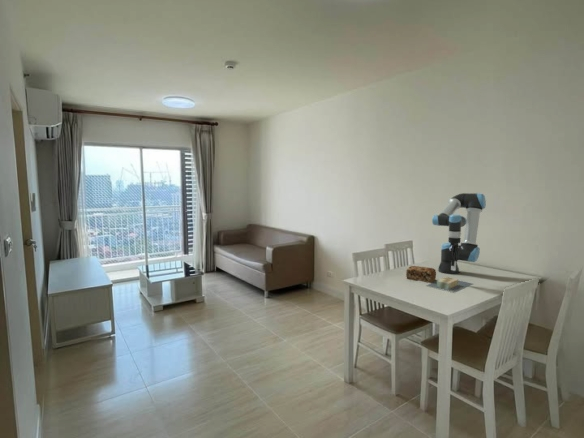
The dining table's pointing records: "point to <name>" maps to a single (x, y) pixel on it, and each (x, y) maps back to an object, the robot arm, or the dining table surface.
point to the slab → (447, 283)
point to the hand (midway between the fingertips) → (453, 270)
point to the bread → (421, 274)
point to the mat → (459, 287)
